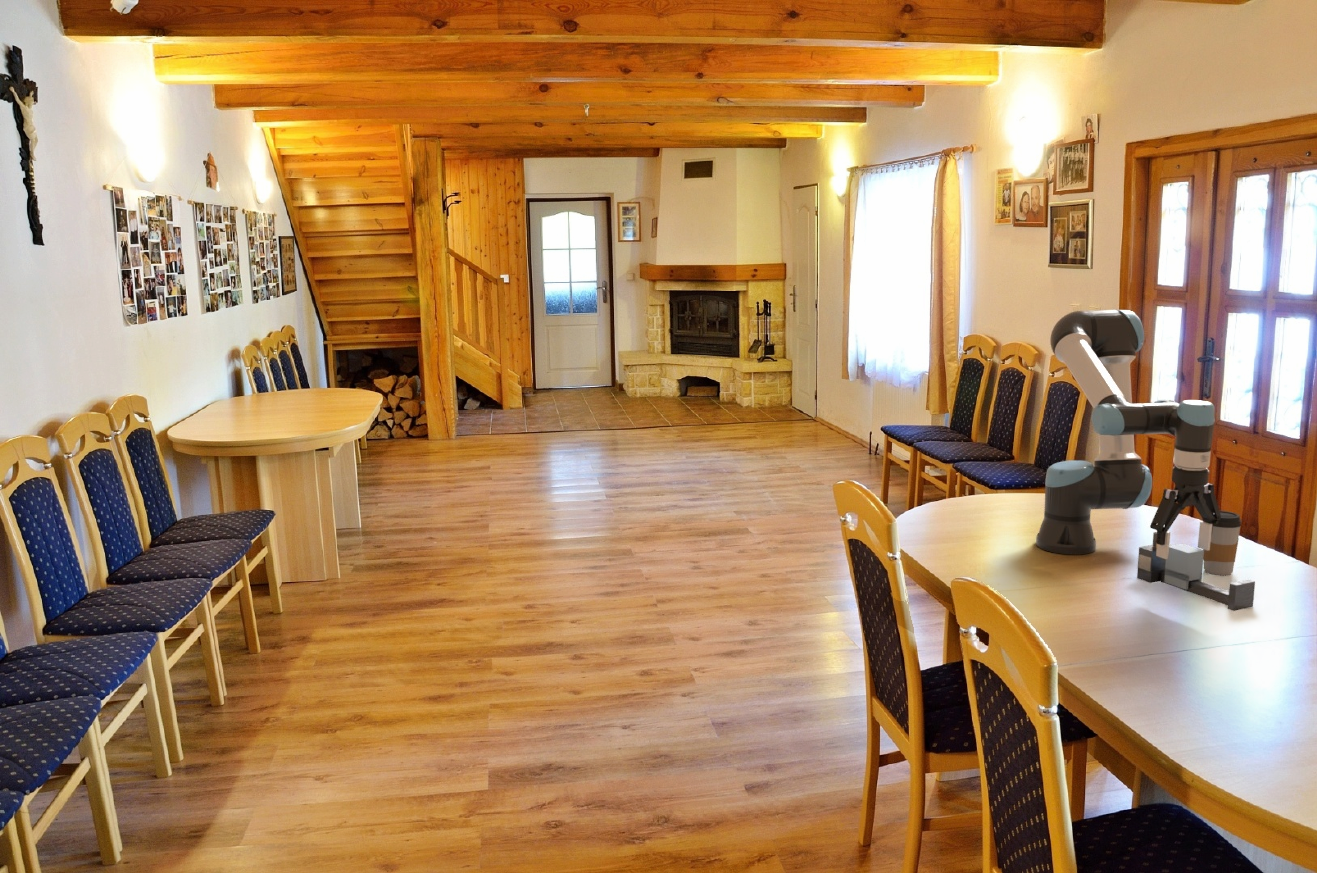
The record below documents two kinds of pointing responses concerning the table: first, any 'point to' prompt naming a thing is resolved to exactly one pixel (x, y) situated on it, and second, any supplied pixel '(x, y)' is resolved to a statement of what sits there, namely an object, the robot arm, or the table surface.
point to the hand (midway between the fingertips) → (1183, 553)
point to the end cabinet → (1150, 564)
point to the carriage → (1183, 565)
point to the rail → (1204, 590)
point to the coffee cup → (1223, 545)
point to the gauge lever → (1154, 539)
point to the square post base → (1241, 595)
